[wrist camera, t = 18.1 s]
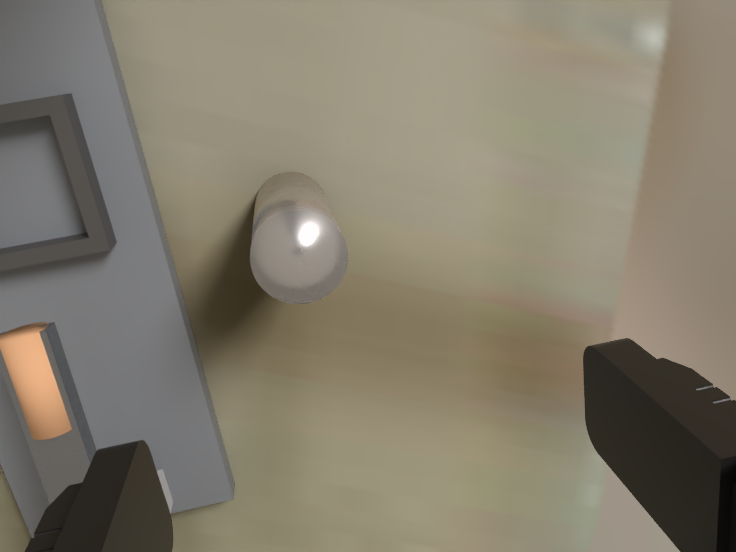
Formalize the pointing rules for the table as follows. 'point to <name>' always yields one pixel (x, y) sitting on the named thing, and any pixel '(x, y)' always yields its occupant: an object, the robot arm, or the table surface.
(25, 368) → the lever
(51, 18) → the grey flat base
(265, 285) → the translucent white cylinder
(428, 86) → the table surface
